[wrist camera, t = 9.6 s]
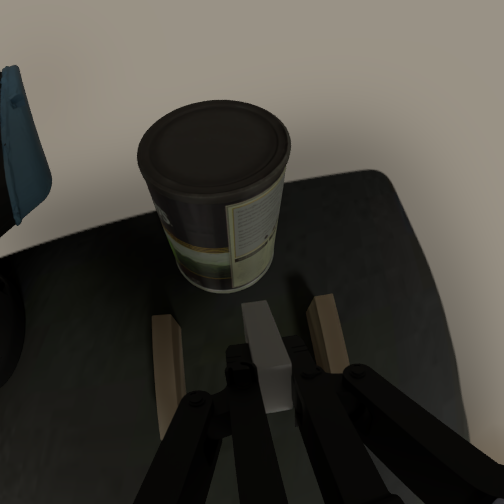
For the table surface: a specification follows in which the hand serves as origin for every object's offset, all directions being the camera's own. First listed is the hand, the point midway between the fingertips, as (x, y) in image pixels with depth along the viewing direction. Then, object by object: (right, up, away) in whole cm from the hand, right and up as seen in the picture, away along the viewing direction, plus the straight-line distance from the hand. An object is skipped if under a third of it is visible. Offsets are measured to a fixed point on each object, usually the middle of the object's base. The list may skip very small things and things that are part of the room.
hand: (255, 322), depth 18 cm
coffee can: (-3, +5, +13) cm, 14 cm away
